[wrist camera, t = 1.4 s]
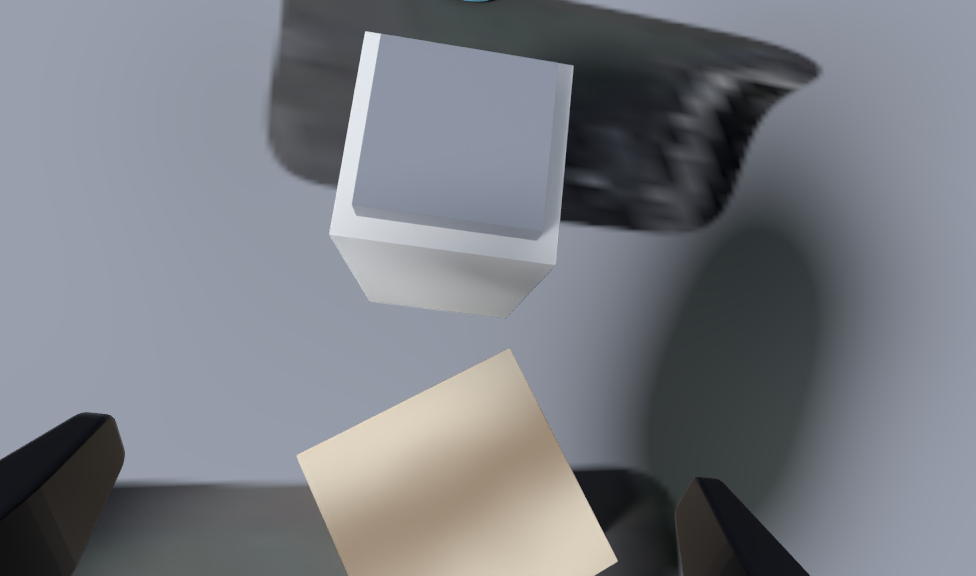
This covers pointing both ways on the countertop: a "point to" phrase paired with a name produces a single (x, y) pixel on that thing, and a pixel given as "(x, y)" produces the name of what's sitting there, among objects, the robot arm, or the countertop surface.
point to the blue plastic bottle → (476, 0)
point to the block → (457, 486)
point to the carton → (452, 175)
